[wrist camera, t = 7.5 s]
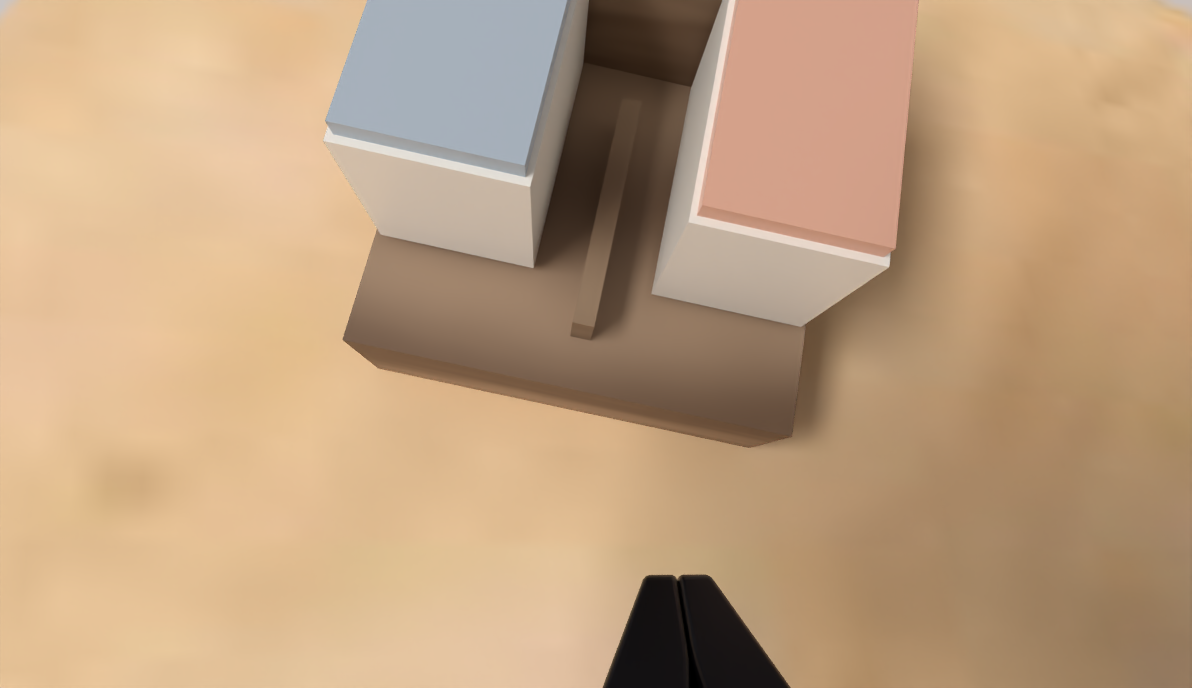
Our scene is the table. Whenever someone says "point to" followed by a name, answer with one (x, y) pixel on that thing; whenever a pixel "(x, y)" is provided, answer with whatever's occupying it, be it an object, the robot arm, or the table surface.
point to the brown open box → (593, 269)
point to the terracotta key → (790, 157)
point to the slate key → (459, 119)
